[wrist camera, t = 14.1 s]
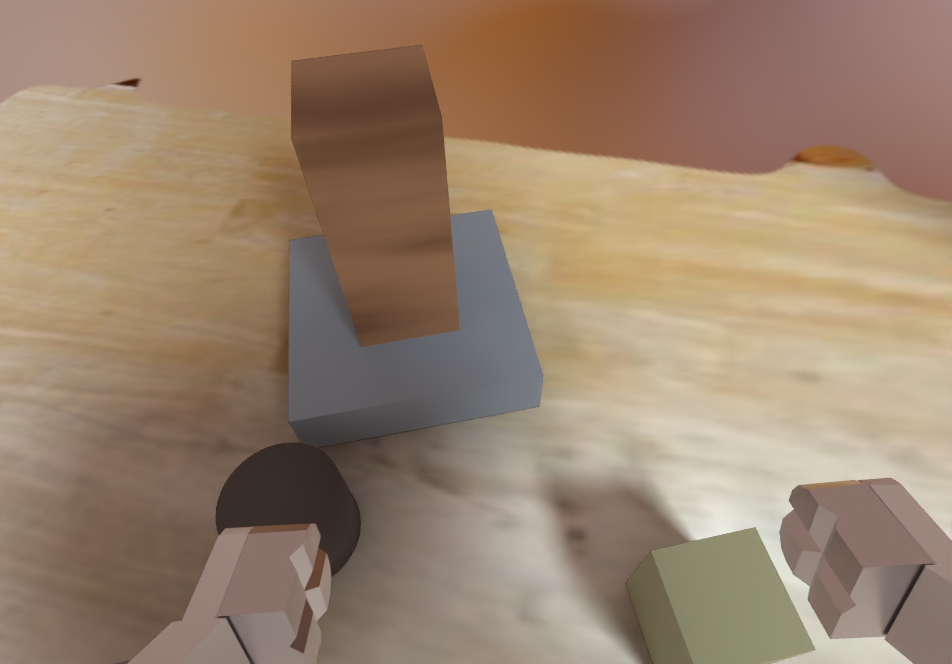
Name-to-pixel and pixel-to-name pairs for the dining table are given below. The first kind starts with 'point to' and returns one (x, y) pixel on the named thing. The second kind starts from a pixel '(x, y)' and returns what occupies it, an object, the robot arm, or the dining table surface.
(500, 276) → the slate riser
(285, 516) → the charcoal cylinder
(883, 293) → the dining table surface
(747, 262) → the dining table surface
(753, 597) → the olive block
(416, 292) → the walnut block
